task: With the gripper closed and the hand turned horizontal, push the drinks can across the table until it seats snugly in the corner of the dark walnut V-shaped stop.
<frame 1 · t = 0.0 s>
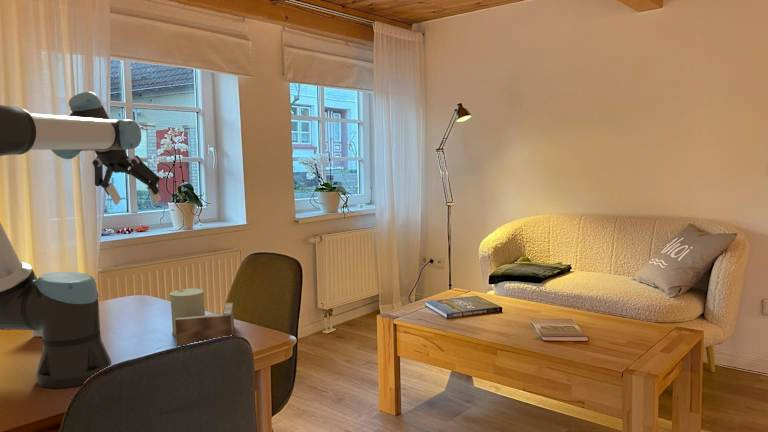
hand: (138, 201, 181), 36 cm above the table, tool tilted 35°, fingers open, 13 cm apart
v stop: (208, 336, 163), on the table
ink cartridge box: (55, 335, 168), on the table
can: (189, 332, 167), on the table
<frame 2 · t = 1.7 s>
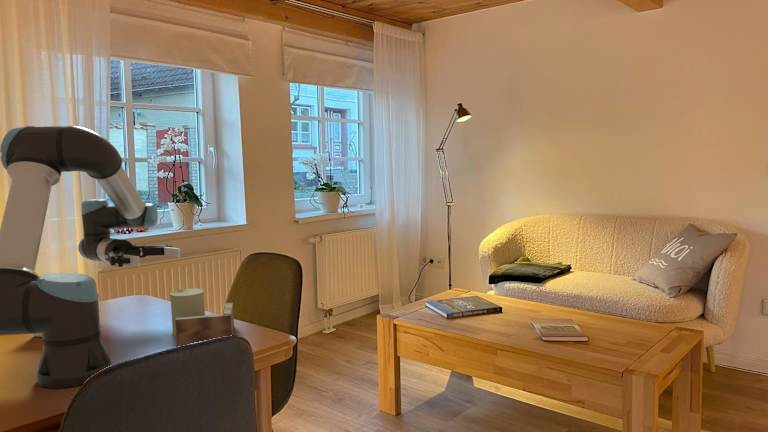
hand: (159, 257, 171), 21 cm above the table, tool horizontal, fingers open, 13 cm apart
nothing on the table moved.
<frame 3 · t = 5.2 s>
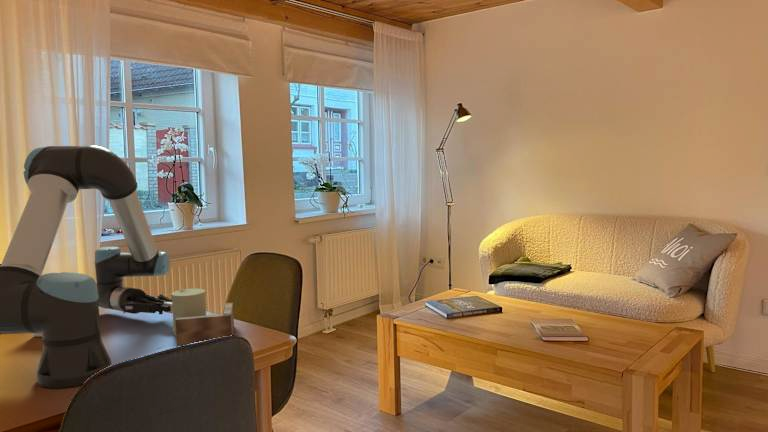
hand: (180, 309, 169), 6 cm above the table, tool horizontal, fingers closed
can: (190, 332, 167), on the table, touching gripper
everything else where it was.
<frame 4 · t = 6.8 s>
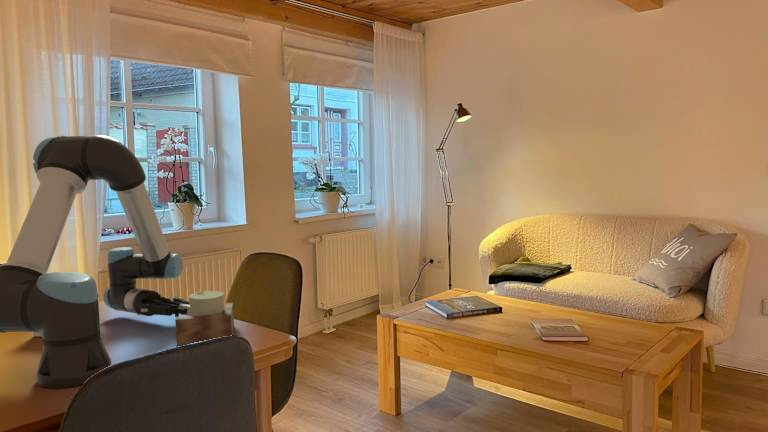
hand: (197, 311, 165), 6 cm above the table, tool horizontal, fingers closed
can: (208, 336, 163), on the table, touching gripper, v stop
everything else where it was.
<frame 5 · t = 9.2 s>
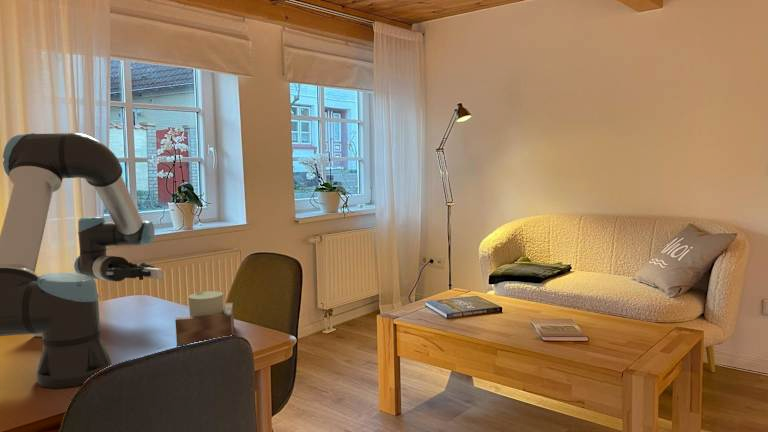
hand: (160, 273, 169), 16 cm above the table, tool horizontal, fingers closed
can: (208, 336, 163), on the table
everything else where it was.
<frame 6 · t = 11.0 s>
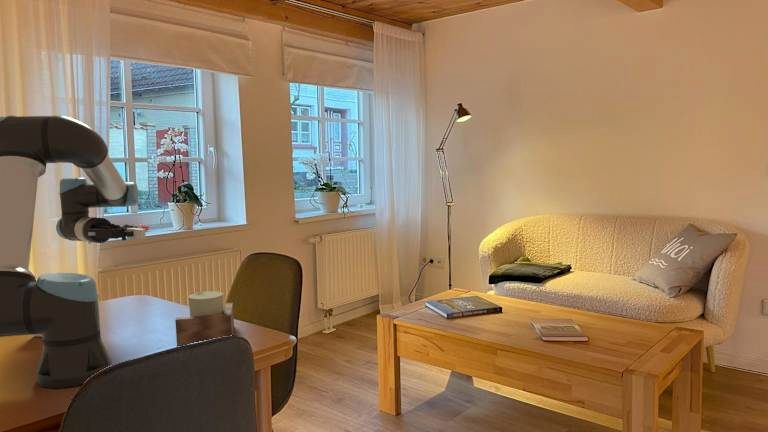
hand: (143, 234, 165), 28 cm above the table, tool horizontal, fingers closed
nothing on the table moved.
at the end: can 0.1 cm off-centre on the v stop, point 0.0 cm above the v stop's base; can tilted 0° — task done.
